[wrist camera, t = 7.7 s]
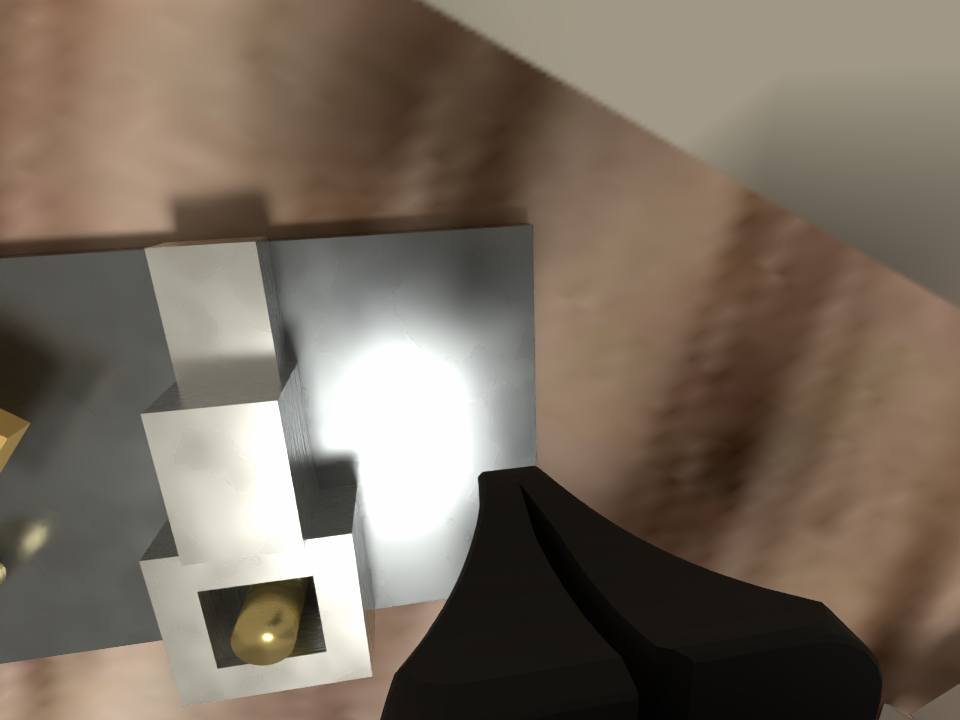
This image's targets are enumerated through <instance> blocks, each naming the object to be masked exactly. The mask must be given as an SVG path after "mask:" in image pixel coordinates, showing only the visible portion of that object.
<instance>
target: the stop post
mask: <svg viewBox="0 0 960 720" xmlns="http://www.w3.org/2000/svg"><path fill="white" fill-rule="evenodd" d="M5 578H6V569H5V567H4V565H3V564H2V563H1V561H0V585H1V584H2V583H3V582H4V581H5Z"/></svg>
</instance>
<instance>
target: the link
mask: <svg viewBox="0 0 960 720" xmlns="http://www.w3.org/2000/svg"><path fill="white" fill-rule="evenodd" d="M144 249H145V253H146V257H147V262H148V266H149V270H150V274H151V278H152V282H153V286H154V290H155V295H156V299H157V303H158V307H159V311H160V315H161V319H162V324H163V328H164V332H165V336H166V340H167V344H168V348H169V352H170V357H171V361H172V365H173V369H174V373H175V377H176V381H175V382H174V383H173V384H172V385H171V386H170V387H169V388H168V389H167V390H166V391H165V392H164V393H163V394H161V395H160V396H159V397H158V398H157V399H156V400H155V401H154V402H153V403H152V404H151V405H150V406H149V407H147V408H146V409H145V410H144V411H143V412H142V413H141V418H142V422H143V425H144V429H145V433H146V436H147V440H148V444H149V447H150V451H151V455H152V459H153V462H154V466H155V470H156V473H157V477H158V481H159V484H160V488H161V492H162V496H163V499H164V503H165V507H166V510H167V514H168V519H167V520H166V522H165V523H164V525H163V526H162V528H161V529H160V531H159V532H158V534H157V535H156V537H155V538H154V540H153V541H152V543H151V544H150V546H149V547H148V549H147V550H146V552H145V553H144V555H143V556H142V558H141V559H140V561H139V562H140V566H141V569H142V572H143V576H144V579H145V582H146V586H147V589H148V592H149V596H150V599H151V602H152V606H153V609H154V612H155V616H156V619H157V622H158V626H159V629H160V632H161V636H162V639H163V642H164V646H165V649H166V653H167V656H168V659H169V663H170V666H171V669H172V673H173V676H174V679H175V683H176V686H177V689H178V693H179V696H180V699H181V703H182V706H183V707H184V706H191V705H197V704H203V703H209V702H215V701H222V700H228V699H234V698H240V697H246V696H253V695H259V694H265V693H271V692H278V691H284V690H290V689H296V688H302V687H309V686H315V685H321V684H327V683H333V682H340V681H346V680H352V679H358V678H364V677H371V676H372V674H373V652H374V630H375V608H374V601H373V593H372V586H371V579H370V572H369V564H368V557H367V550H366V542H365V535H364V528H363V521H362V513H361V506H360V499H359V491H358V485H352V486H343V487H335V488H327V489H319V486H318V480H317V474H316V468H315V462H314V455H313V449H312V443H311V437H310V431H309V425H308V419H307V413H306V407H305V400H304V394H303V388H302V382H301V376H300V370H299V364H298V361H296V362H289V359H288V353H287V347H286V341H285V336H284V330H283V324H282V318H281V312H280V306H279V300H278V294H277V288H276V282H275V276H274V271H273V265H272V259H271V253H270V247H269V241H268V236H259V237H243V238H227V239H211V240H195V241H178V242H166V243H162V244H159V245H155V246H151V247H148V248H144ZM308 576H313V577H314V583H315V589H316V593H314V594H307V595H305V600H304V605H303V609H302V614H301V619H300V623H299V628H298V633H297V638H296V642H295V646H294V649H293V651H292V652H291V654H290V655H289V656H288V657H287V658H285V659H284V660H282V661H280V662H278V663H275V664H272V665H266V666H259V665H252V664H249V663H246V662H244V661H243V660H241V659H240V658H238V657H237V656H236V655H235V653H234V652H233V650H232V647H231V636H232V633H233V631H234V628H235V625H236V622H237V619H238V617H239V614H240V611H241V608H242V605H243V604H241V602H240V598H239V594H238V589H237V586H243V585H250V584H257V583H265V582H272V581H279V580H287V579H294V578H301V577H308Z"/></svg>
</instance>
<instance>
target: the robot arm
mask: <svg viewBox="0 0 960 720" xmlns="http://www.w3.org/2000/svg"><path fill="white" fill-rule="evenodd" d="M478 488H479V506H480V507H479V512H478V518H477V523H476V528H475V531H474V535H473V538H472V542H471V545H470V549H469V552H468V555H467V557H466V560H465V563H464V565H463V568H462V570H461V573H460V575H459V577H458V579H457V582H456V584H455V586H454V588H453V590H452V592H451V594H450V596H449V598H448V600H447V601H446V603H445V605H444V607H443V609H442V610H441V612H440V613H439V615H438V617H437V618H436V620H435V621H434V623H433V624H432V626H431V627H430V629H429V630H428V632H427V634H426V635H425V637H424V638H423V639H422V641H421V642H420V644H419V645H418V646H417V647H416V649H415V650H414V651H413V652H412V654H411V655H410V656H409V657H408V658H407V660H406V661H405V662H404V663H403V665H402V666H401V667H400V668H399V670H398V671H397V672H396V673H395V674H394V677H393V680H392V683H391V686H390V689H389V692H388V695H387V699H386V702H385V705H384V709H383V712H382V716H381V719H380V720H875V719H876V715H877V711H878V708H879V704H880V699H881V689H882V673H881V669H880V665H879V662H878V660H877V658H876V657H875V656H874V654H873V653H872V652H871V651H870V649H869V648H868V647H867V646H866V645H865V644H864V643H863V642H862V641H861V640H860V639H859V638H858V637H857V636H856V635H855V634H854V633H853V632H852V631H851V630H850V629H849V628H848V627H847V626H846V625H845V624H844V623H843V622H842V621H841V620H840V619H839V618H838V617H837V616H836V615H835V614H834V613H833V612H832V611H831V610H830V609H829V608H827V607H826V606H825V605H824V604H823V603H822V602H818V601H814V600H810V599H806V598H802V597H798V596H794V595H790V594H786V593H782V592H778V591H774V590H770V589H766V588H762V587H759V586H755V585H752V584H749V583H746V582H743V581H740V580H737V579H734V578H731V577H727V576H724V575H722V574H719V573H716V572H713V571H711V570H708V569H705V568H703V567H700V566H698V565H695V564H693V563H691V562H688V561H686V560H683V559H681V558H679V557H676V556H674V555H672V554H670V553H667V552H665V551H663V550H661V549H659V548H657V547H655V546H653V545H651V544H649V543H647V542H645V541H644V540H642V539H640V538H638V537H636V536H634V535H632V534H631V533H629V532H627V531H625V530H624V529H622V528H620V527H619V526H617V525H616V524H614V523H612V522H611V521H609V520H608V519H606V518H605V517H603V516H601V515H600V514H598V513H597V512H596V511H594V510H593V509H591V508H590V507H588V506H587V505H586V504H584V503H583V502H581V501H580V500H579V499H577V498H576V497H575V496H573V495H572V494H571V493H569V492H568V491H567V490H566V489H564V488H563V487H562V486H561V485H559V484H558V483H557V482H555V481H554V480H553V479H552V478H551V477H549V476H548V475H547V474H546V473H544V472H543V471H542V470H541V469H539V468H538V467H537V466H527V467H518V468H510V469H501V470H493V471H485V472H482V473H481V474H480V475H479V476H478Z"/></svg>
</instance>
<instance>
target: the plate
mask: <svg viewBox="0 0 960 720" xmlns="http://www.w3.org/2000/svg"><path fill="white" fill-rule="evenodd" d="M268 241H269V247H270V253H271V259H272V265H273V271H274V276H275V282H276V288H277V294H278V300H279V306H280V312H281V318H282V324H283V330H284V336H285V341H286V347H287V353H288V359H289V362H296V361H298V364H299V370H300V376H301V382H302V388H303V394H304V400H305V407H306V413H307V419H308V425H309V431H310V437H311V443H312V449H313V455H314V462H315V468H316V474H317V480H318V486H319V489H327V488H335V487H343V486H352V485H358V491H359V499H360V506H361V513H362V521H363V528H364V535H365V542H366V550H367V557H368V564H369V572H370V579H371V586H372V593H373V601H374V608H375V609H379V608H385V607H392V606H399V605H406V604H413V603H420V602H427V601H433V600H440V599H447V598H449V596H450V594H451V592H452V590H453V588H454V586H455V584H456V582H457V579H458V577H459V575H460V573H461V570H462V568H463V565H464V563H465V560H466V557H467V555H468V552H469V549H470V545H471V542H472V538H473V535H474V531H475V528H476V523H477V518H478V512H479V507H480V506H479V488H478V476H479V475H480V474H481V473H482V472H485V471H493V470H501V469H510V468H518V467H527V466H537V463H536V402H535V342H534V281H533V225H531V224H528V223H524V224H508V225H492V226H476V227H460V228H444V229H428V230H412V231H396V232H380V233H364V234H348V235H332V236H316V237H300V238H284V239H268ZM144 248H148V247H139V248H123V249H107V250H91V251H75V252H59V253H43V254H27V255H11V256H0V408H1V409H3V410H5V411H7V412H9V413H11V414H13V415H15V416H17V417H19V418H21V419H23V420H25V421H28V422H30V425H29V426H28V428H27V430H26V431H25V433H24V435H23V436H22V438H21V440H20V441H19V443H18V445H17V446H16V448H15V449H14V451H13V453H12V454H11V456H10V458H9V459H8V461H7V463H6V464H5V466H4V468H3V469H2V471H1V473H0V561H1V563H2V564H3V565H4V567H5V569H6V578H5V581H4V582H3V583H2V584H1V585H0V664H2V663H9V662H15V661H22V660H29V659H36V658H43V657H50V656H57V655H63V654H70V653H77V652H84V651H91V650H98V649H104V648H111V647H118V646H125V645H132V644H139V643H146V642H152V641H159V640H163V639H162V636H161V632H160V629H159V626H158V622H157V619H156V616H155V612H154V609H153V606H152V602H151V599H150V596H149V592H148V589H147V586H146V582H145V579H144V576H143V572H142V569H141V566H140V562H139V561H140V559H141V558H142V556H143V555H144V553H145V552H146V550H147V549H148V547H149V546H150V544H151V543H152V541H153V540H154V538H155V537H156V535H157V534H158V532H159V531H160V529H161V528H162V526H163V525H164V523H165V522H166V520H167V519H168V514H167V510H166V507H165V503H164V499H163V496H162V492H161V488H160V484H159V481H158V477H157V473H156V470H155V466H154V462H153V459H152V455H151V451H150V447H149V444H148V440H147V436H146V433H145V429H144V425H143V422H142V418H141V413H142V412H143V411H144V410H145V409H146V408H147V407H149V406H150V405H151V404H152V403H153V402H154V401H155V400H156V399H157V398H158V397H159V396H160V395H161V394H163V393H164V392H165V391H166V390H167V389H168V388H169V387H170V386H171V385H172V384H173V383H174V382H175V381H176V377H175V373H174V369H173V365H172V361H171V357H170V352H169V348H168V344H167V340H166V336H165V332H164V328H163V324H162V319H161V315H160V311H159V307H158V303H157V299H156V295H155V290H154V286H153V282H152V278H151V274H150V270H149V266H148V262H147V257H146V253H145V249H144ZM249 586H250V585H243V586H237V589H238V594H239V598H240V602H241V604H243V603H244V600H245V597H246V594H247V591H248V589H249ZM314 593H316V589H315V583H314V577H313V576H310V577H309V581H308V586H307V591H306V595H307V594H314Z"/></svg>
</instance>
